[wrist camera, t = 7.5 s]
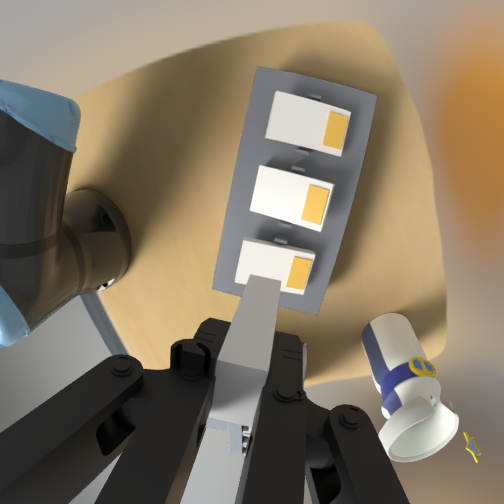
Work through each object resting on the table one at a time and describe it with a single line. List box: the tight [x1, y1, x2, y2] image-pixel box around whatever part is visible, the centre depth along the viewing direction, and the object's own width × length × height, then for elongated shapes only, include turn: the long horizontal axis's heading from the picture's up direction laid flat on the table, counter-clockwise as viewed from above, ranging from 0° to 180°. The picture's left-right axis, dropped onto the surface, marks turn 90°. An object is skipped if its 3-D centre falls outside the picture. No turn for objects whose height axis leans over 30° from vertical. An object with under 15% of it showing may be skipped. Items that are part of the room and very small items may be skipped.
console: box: [212, 66, 377, 315], centre depth 31 cm, size 12×24×8 cm, turn 168°
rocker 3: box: [235, 237, 315, 295], centre depth 30 cm, size 7×4×1 cm, turn 78°
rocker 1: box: [265, 91, 351, 157], centre depth 25 cm, size 7×4×1 cm, turn 78°
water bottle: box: [361, 313, 481, 462], centre depth 27 cm, size 8×9×25 cm
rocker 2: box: [250, 165, 335, 232], centre depth 28 cm, size 7×4×1 cm, turn 78°
